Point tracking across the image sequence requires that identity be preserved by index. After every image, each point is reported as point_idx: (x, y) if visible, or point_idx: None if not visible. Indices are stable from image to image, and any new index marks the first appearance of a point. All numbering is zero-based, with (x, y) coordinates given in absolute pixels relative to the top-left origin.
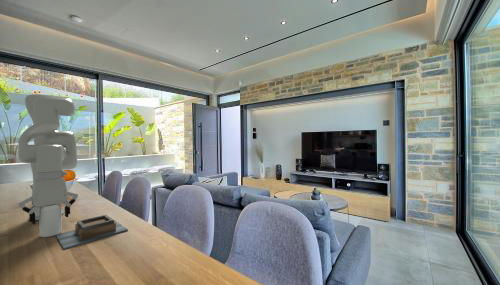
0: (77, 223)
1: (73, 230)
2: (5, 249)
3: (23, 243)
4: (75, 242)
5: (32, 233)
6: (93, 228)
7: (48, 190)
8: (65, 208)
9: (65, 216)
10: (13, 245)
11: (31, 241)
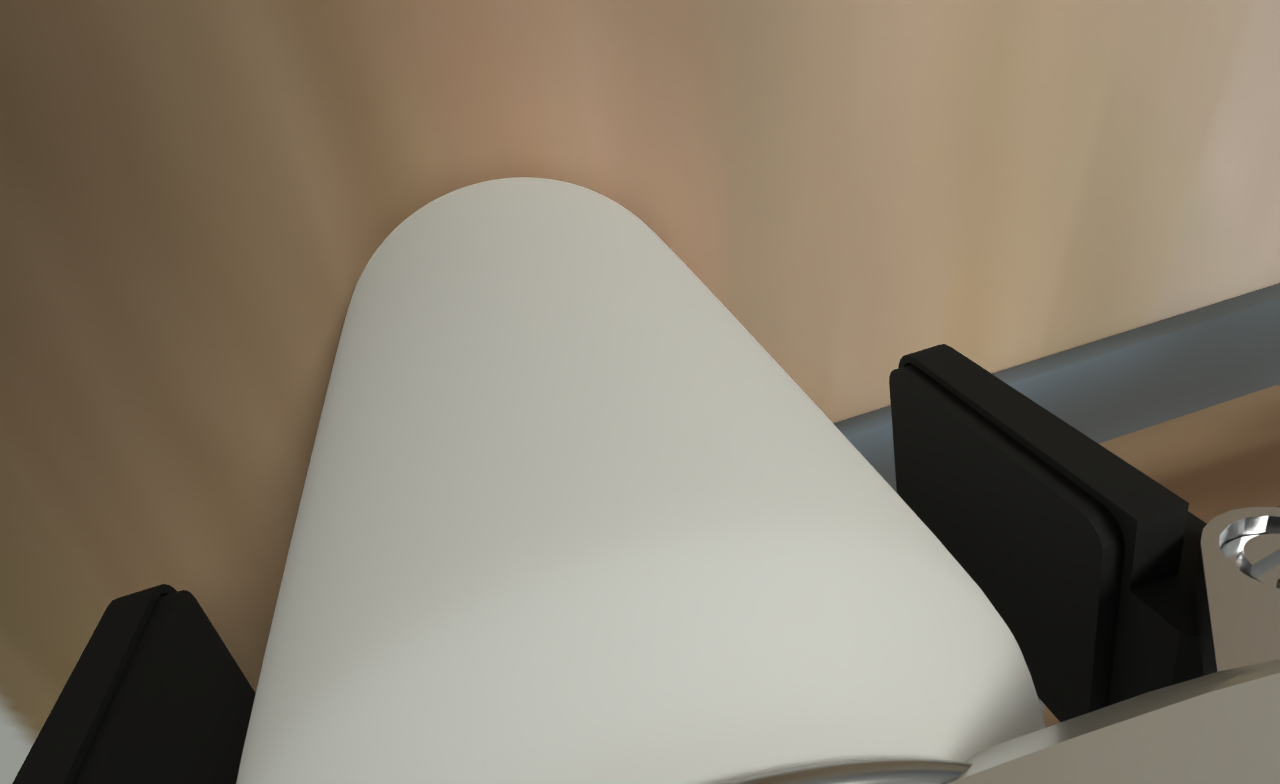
0: None
1: (856, 444)
2: (7, 696)
3: (187, 572)
4: None
5: (74, 12)
6: None
7: None
8: (1062, 657)
9: (895, 458)
10: (45, 589)
11: (290, 540)
